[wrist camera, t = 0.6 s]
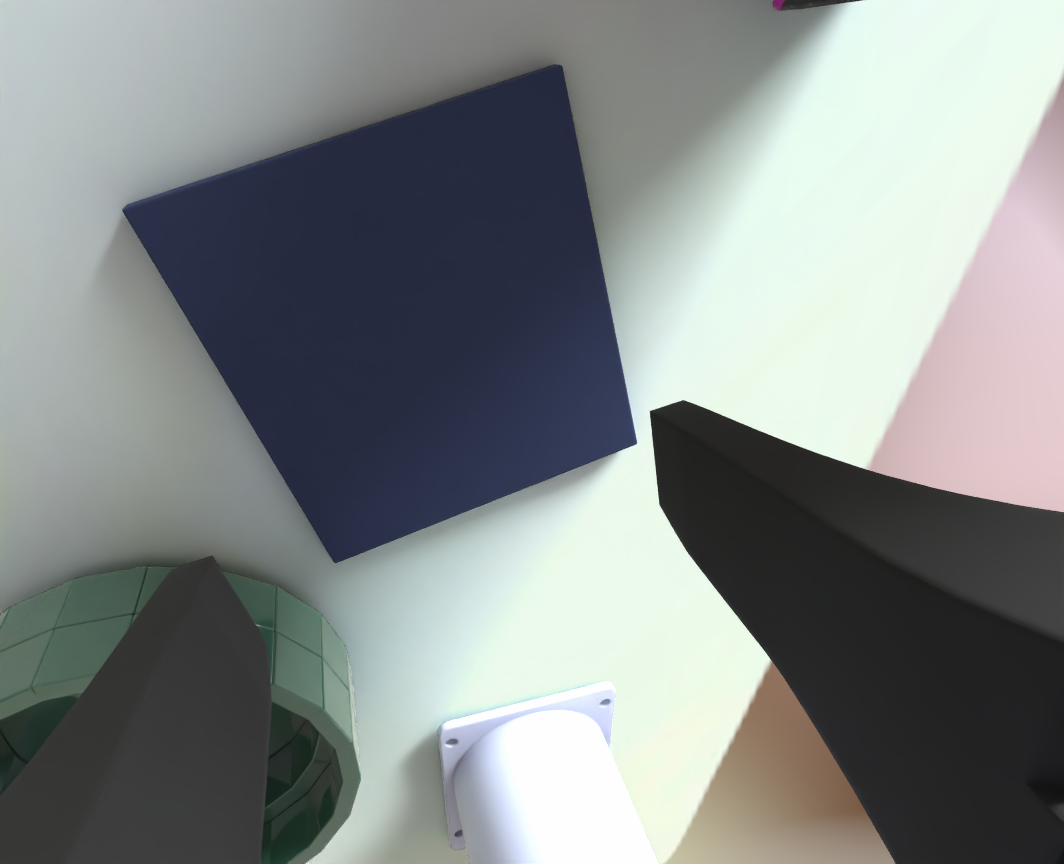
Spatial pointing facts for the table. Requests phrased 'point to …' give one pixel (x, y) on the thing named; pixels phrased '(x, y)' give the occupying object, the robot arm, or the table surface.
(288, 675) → the bowl
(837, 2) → the candy bar box
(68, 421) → the table surface
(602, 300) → the napkin
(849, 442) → the table surface
